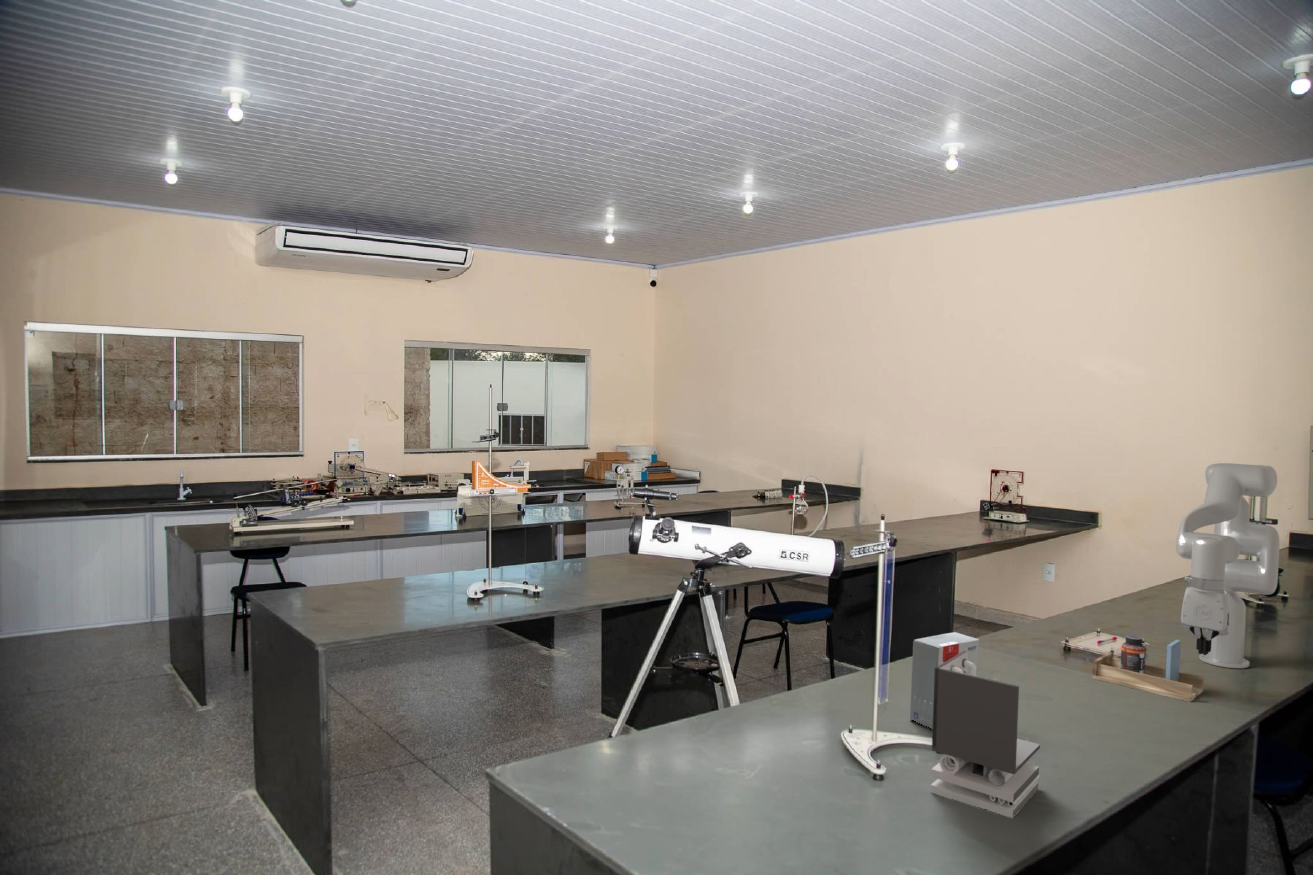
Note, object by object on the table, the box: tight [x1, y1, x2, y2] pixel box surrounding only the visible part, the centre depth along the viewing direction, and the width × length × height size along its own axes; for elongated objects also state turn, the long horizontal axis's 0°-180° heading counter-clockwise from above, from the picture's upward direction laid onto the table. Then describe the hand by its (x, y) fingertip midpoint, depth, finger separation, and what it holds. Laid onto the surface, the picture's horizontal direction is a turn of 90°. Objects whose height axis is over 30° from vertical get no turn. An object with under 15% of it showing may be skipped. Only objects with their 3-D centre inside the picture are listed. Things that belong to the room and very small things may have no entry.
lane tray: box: [1091, 651, 1205, 703], centre depth 232 cm, size 13×24×5 cm, turn 43°
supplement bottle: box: [1120, 634, 1147, 674], centre depth 235 cm, size 6×6×11 cm
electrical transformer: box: [930, 651, 1041, 818], centre depth 168 cm, size 16×19×25 cm
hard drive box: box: [909, 631, 980, 730], centre depth 204 cm, size 16×8×20 cm, turn 122°
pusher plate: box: [1165, 639, 1181, 682], centre depth 227 cm, size 8×1×12 cm, turn 133°
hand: (1203, 653), depth 221 cm, fingers closed
